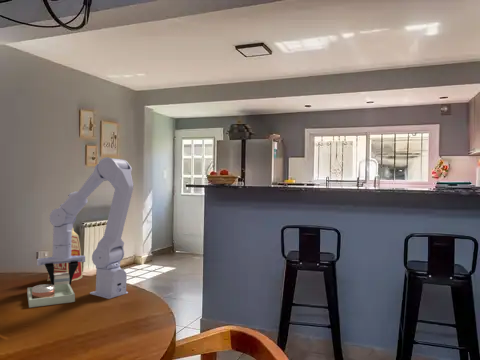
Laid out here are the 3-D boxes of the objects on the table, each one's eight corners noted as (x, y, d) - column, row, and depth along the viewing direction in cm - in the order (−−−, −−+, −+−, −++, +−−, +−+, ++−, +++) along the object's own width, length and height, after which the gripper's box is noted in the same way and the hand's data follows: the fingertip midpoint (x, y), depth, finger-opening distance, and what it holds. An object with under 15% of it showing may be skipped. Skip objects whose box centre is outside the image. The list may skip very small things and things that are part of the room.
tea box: (69, 290, 128) (69, 275, 128) (53, 291, 125) (54, 276, 125) (67, 286, 132) (67, 272, 132) (52, 288, 129) (53, 273, 129)
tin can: (58, 299, 116) (59, 286, 116) (39, 304, 111) (39, 290, 111) (47, 296, 119) (47, 283, 119) (27, 300, 114) (27, 287, 114)
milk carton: (69, 283, 136) (70, 227, 136) (46, 281, 138) (47, 225, 138) (84, 277, 145) (85, 224, 145) (62, 275, 147) (64, 223, 147)
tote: (74, 303, 115) (74, 294, 115) (28, 308, 108) (29, 300, 108) (68, 291, 127) (68, 283, 127) (27, 295, 120) (27, 287, 121)
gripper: (83, 241, 136) (82, 279, 136) (37, 243, 128) (35, 284, 128) (86, 244, 130) (85, 284, 130) (38, 247, 122) (37, 289, 122)
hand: (61, 284), depth 129 cm, fingers closed on tea box, 5 cm apart
